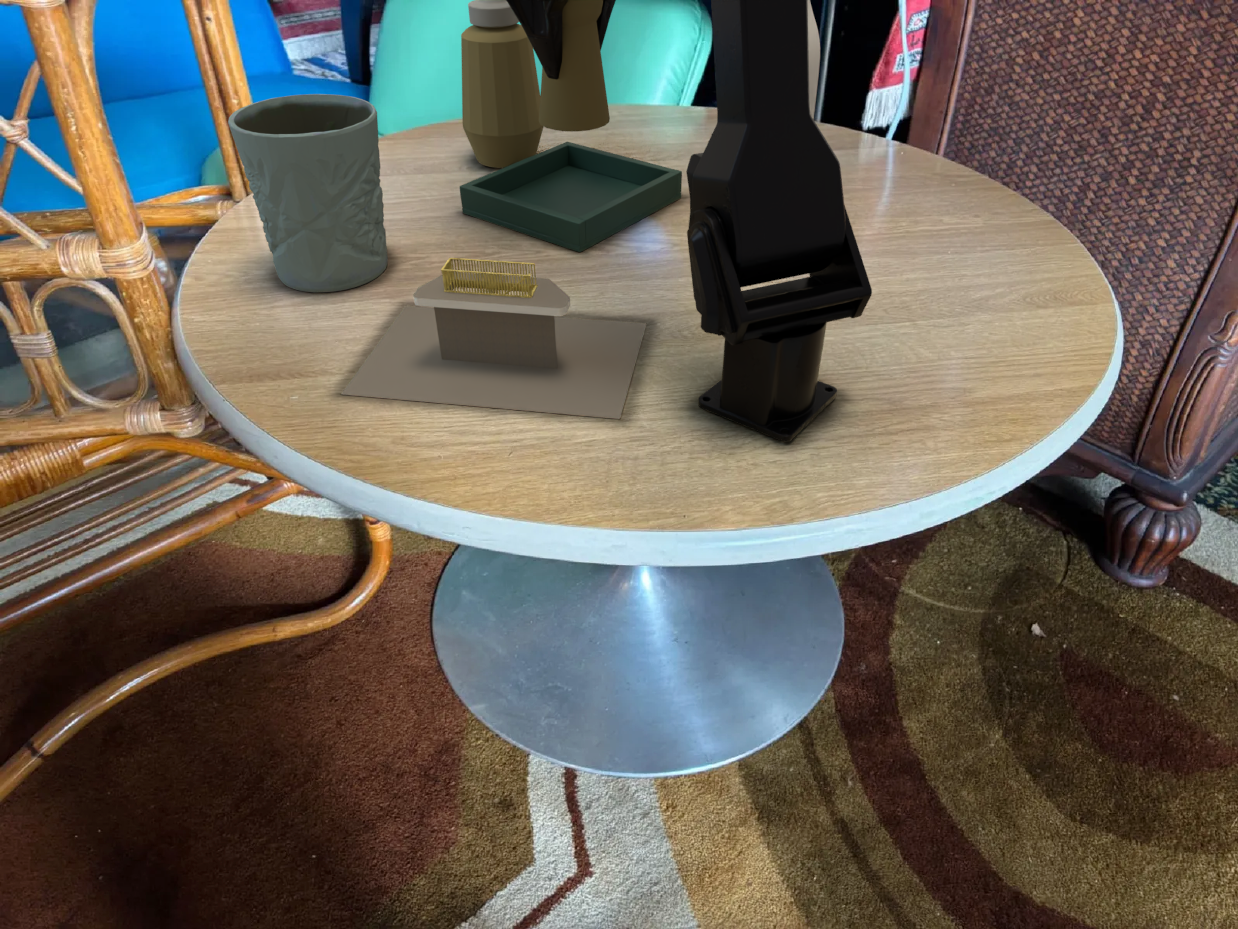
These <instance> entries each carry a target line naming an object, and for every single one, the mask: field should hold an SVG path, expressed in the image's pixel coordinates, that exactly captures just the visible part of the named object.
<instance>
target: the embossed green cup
mask: <svg viewBox="0 0 1238 929" xmlns="http://www.w3.org/2000/svg"><path fill="white" fill-rule="evenodd" d="M227 120H228V121H227V124H228V127H229V129H230V133H231V136H232V138H233V141H234V144H235V147H236V150H237V153H238V156H239V159H240V161H241V163H242V166H243V171H244V174H245V178H246V180H247V181H248V182H249V183H248V188H249V190H250V191H251V193H252V199H253V200H254V204H255V207H256V208H257V211H258V215H259V216H258V217H259V218H260V221H261V222H262V229H263V232H264V236H265V240H266V242H267V245H268V249H269V252H270V253H271V254H272V263H273V266H274V270H275V272H276V275H277V277H278V279H279V280H280V282H281V283H282V284H283V285H284V286H286V287H288V288H290V289H293V290H296V291H300V292H307V293H334V292H341V291H345V290H350V289H354V288H357V287H360V286H363V285H365V284H367V283H370V282H372V281H374V280H375V279H376V278H378V277H380V276H381V275H382V274H383V273H384V272H385V271H386V269H387V266H388V260H389V258H388V248H387V247H388V246H387V234H386V228H385V226H384V221H385V219H384V217H385V214H384V202H383V196H384V195H383V194H384V193H383V189H382V187H381V179H380V176H381V158H380V147H379V143H380V142H379V140H380V139H379V123H378V111H377V109H376V107H375V105H373V104H372V103H371V102H370V101H367V100H365V99H362V98H360V97H356V96H350V95H343V94H329V93H327V94H326V93H308V94H293V95H285V96H278V97H271V98H267V99H263V100H259V101H256V102H253V103H249V104H247V105H245V106H242V107H240V108H238V109H236V110H235V111H233V112H232V113H231V115H230V116H229V117H228V119H227Z"/></svg>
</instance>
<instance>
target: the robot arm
mask: <svg viewBox="0 0 1238 929" xmlns="http://www.w3.org/2000/svg"><path fill="white" fill-rule="evenodd" d="M506 1H507V2H508V4H509V6H510V7H511V9H512V11H513V12H514V14H515V16H516V17H517V19H518V20H519V22H518V23H519V24H520V25H521V26H522V27H523V29H524V31H525V33H526V35H527V37H528V39H529V41H530V43H531V45H532V47H533V51H534V54H535V55H536V57H537V59H538V61H539V63H540V65H541V68H542V67H543V69H544V71H545V73H546V75H547V77H548V78H551V79H556V80H557V79H558V78H559V73H560V68H561V63H562V13H563V8H564V6H565V5H566V3H567V2H568V0H506ZM616 1H617V0H603V6H602V10H601V14H600V16H599V17H598V19H597V21H596V22H597V29H598V36H599V44H600V51H602V47H603V45H604V40H605V37H606V34H607V30H608V26H609V23H610V19H611V16H612V13H613V9H614V8H615V7H614V6H615V4H616ZM710 3H711V4H710V5H711V6H710V7H711V23H712V24H711V25H712V40H713V41H712V42H713V43H712V44H713V58H714V59H713V60H714V61H713V62H714V77H715V78H714V79H715V91H716V92H715V95H716V110H717V112H716V113H717V116H716V117H717V118H716V121H717V122H716V125H715V127H714V129H713V132H712V134H711V135H710V138H709V140H708V142H707V144H706V146H705V148H704V150H703V152H698V153H693V154H692V155H691V156H690V157H689V161H688V165H687V168H686V179H687V185H688V193H689V220H688V227H687V228H688V229H687V231H686V236H687V246H688V254H689V255H688V256H689V265H690V273H691V274H690V275H691V284H692V292H693V300H694V301H695V302H694V303H695V308H696V311H697V312H698V313H699V314H700V316H701V317H700V329H702V331H703V332H704V333H706V334H711V335H716V336H718V337H723V338H724V345H723V357H722V369H721V370H722V371H721V379H720V380H719V381H717V382H716V383H715V384H713V385H712V386H711V387H710V388H708V389H707V390H705V392H703V393H702V394H701V395H699V397H698V400H697V402H698V403H697V404H698V407H699V408H700V409H703V410H705V411H707V412H710V413H712V414H714V415H717V416H720V417H722V418H724V419H727V420H729V421H732V422H734V423H735V424H739V425H742V426H744V427H747V428H749V429H751V430H754V431H756V432H759V433H761V434H764V435H766V436H769V437H770V438H773V439H776V440H777V441H778V440H779V441H781V442H791V441H792V440H793V439H794V438H796V436H798V434H800V433H801V431H802V430H804V429H805V428H806V427H807V426H808V425H809V424H810V423H811V422H812V421H813V420H814V419H815V418H816V417H817V416H818V415H820V413H821V412H822V411H823V410H824V409H825V408H826V407H827V406H828V405H829V404H831V403H832V402H833V401H834V400H835V399H836V398H837V394H838V389H837V388H836V387H835V386H833V385H831V384H827V383H825V382H823V381H820V380H819V376H820V368H821V362H822V355H823V349H824V343H825V337H826V330H827V324H828V323H830V322H835V321H839V320H844V319H848V318H850V319H855V318H859V317H860V318H861V316H862V315H863V313H864V311H865V309H866V306H867V305H868V303H869V301H870V299H871V297H872V294H873V289H872V285H871V283H870V279H869V276H868V273H867V270H866V268H865V264H864V261H863V258H862V254H861V252H860V248H859V245H858V242H857V239H856V236H855V233H854V230H853V227H852V224H851V221H850V218H849V214H848V212H847V209H846V206H845V200H844V198H845V197H844V190H843V180H842V179H843V178H842V169H841V163H840V160H839V158H838V157H837V156H836V154H835V152H834V150H833V148H832V147H831V146H830V143H829V142H828V141H827V139H826V137H825V135H824V134H823V133H822V131H821V129H820V127H819V126H818V124H817V123H816V121H815V120H814V119H813V118H812V116H811V113H810V103H809V51H808V0H710ZM803 275H809V276H807V277H802V278H798V279H792V280H787V281H782V282H778V283H774V284H768V285H763V286H759V287H755V288H748V289H744V290H742V288H745V287H751V286H755V285H759V284H764V283H770V282H775V281H779V280H785V279H789V278H794V277H798V276H803Z"/></svg>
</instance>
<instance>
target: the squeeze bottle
mask: <svg viewBox="0 0 1238 929" xmlns="http://www.w3.org/2000/svg"><path fill="white" fill-rule="evenodd" d="M467 7H468V17H469V18H468V19H469V23H470V26H468V27H467V28H465V29H464V30H463V32H462V33H461V34H460V39H461V41H460V42H461V43H460V44H461V46H460V47H461V48H460V50H461V114H462V115H461V116H462V117H461V118H462V121H461V122H462V128H463V131H464V133H465V136H466V137H467V140H468V142H469V145H470V147H471V149H472V152H473V154H474V156H475V158H476V161H477V162H478V163H479V164H480V165H482V166H486V167H489V168H496V169H502V168H504V167H507V166H509V165H512V164H514V163H517V162H519V161H521V160H524V159H526V158H529V157H531V156H533V155H536V154H538V149H539V146H540V142H541V139H542V135H543V130H544V128H545V127H544V126H542V125H541V124H540V123H539V110H540V95H541V89H540V84H539V79H538V78H539V77H538V70H537V65H536V58H535V51H534V49H533V47H532V45H531V43H530V41H529V39H528V37H527V35H526V33H525V31H524V29H523V27H522V26H521V24H520V22H519V20H518V19H517V17H516V16H515V14H514V12H513V11H512V9H511V7H510V6H509V4H508V2H507V1H506V0H471V1H470V2H468V3H467Z"/></svg>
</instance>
